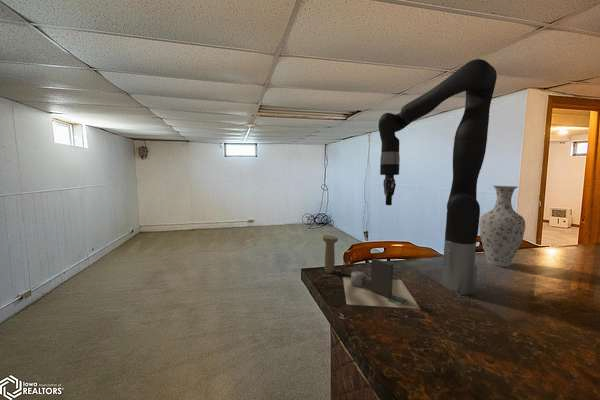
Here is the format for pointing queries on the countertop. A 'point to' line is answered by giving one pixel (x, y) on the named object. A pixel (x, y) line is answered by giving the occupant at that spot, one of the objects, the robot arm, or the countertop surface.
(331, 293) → the countertop surface
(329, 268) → the beige pillar
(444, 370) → the countertop surface
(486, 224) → the vase
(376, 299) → the board
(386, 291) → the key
